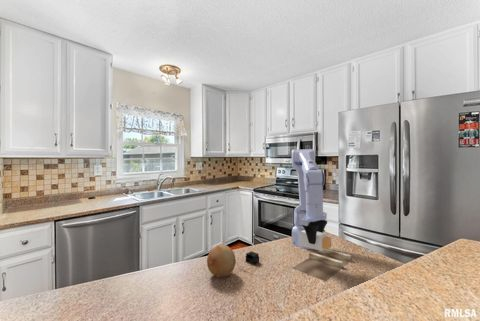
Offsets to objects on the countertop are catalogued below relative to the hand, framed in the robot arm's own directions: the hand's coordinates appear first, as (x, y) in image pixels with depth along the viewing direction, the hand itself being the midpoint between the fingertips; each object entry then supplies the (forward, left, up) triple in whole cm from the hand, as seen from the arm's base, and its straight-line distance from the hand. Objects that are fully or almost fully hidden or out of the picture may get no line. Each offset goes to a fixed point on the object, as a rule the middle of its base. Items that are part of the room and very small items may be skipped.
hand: (315, 241), depth 78 cm
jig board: (+2, +3, -9) cm, 10 cm away
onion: (-19, -27, -9) cm, 35 cm away
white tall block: (0, 0, -2) cm, 2 cm away
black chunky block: (-17, -14, -10) cm, 25 cm away
